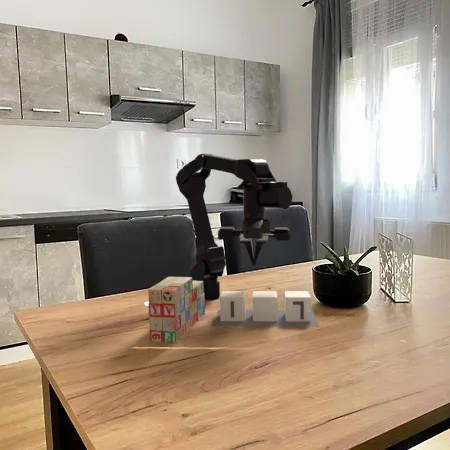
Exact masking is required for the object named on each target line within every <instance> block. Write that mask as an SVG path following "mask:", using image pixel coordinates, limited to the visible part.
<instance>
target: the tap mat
mask: <svg viewBox="0 0 450 450" xmlns="http://www.w3.org/2000/svg"><path fill="white" fill-rule="evenodd" d="M212 327H319V322H318V321H317V318H316V316H315V313H314V310H313V309H311V322H300V321H286V319H285V309H280V310H279V309H278V321H253V309H246V316H245V321H220V309H217V312H216V314H215V318H214V322H213V324H212Z"/></svg>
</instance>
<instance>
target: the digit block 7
mask: <svg viewBox="0 0 450 450" xmlns="http://www.w3.org/2000/svg"><path fill="white" fill-rule="evenodd" d="M283 293H284V310H285V319H286V321H300V322H311V310H312V297H311V294H310V292H309V290H294V291H293V290H285V291H284V292H283Z"/></svg>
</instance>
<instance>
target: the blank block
mask: <svg viewBox="0 0 450 450" xmlns="http://www.w3.org/2000/svg"><path fill="white" fill-rule="evenodd" d="M277 292H278V291H277V290H261V291H260V290H258V291H257V290H256V291H255V290H253V292H252V310H253V321H278V310H279V309H278V307H279V306H278V293H277Z"/></svg>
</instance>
